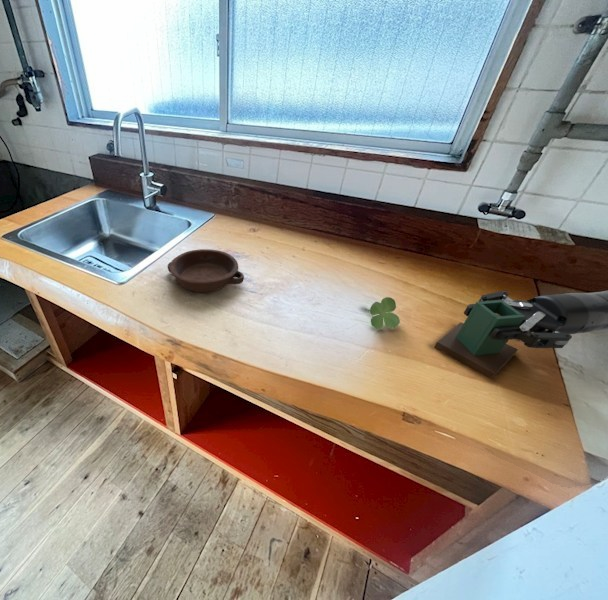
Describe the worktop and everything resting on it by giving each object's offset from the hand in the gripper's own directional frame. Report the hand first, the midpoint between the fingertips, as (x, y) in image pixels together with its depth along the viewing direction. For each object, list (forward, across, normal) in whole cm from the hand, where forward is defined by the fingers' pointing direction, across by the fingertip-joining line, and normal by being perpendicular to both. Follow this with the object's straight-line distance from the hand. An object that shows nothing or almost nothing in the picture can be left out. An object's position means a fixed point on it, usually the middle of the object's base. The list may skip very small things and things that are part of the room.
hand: (480, 321), depth 59 cm
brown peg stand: (-2, 0, +8) cm, 8 cm away
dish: (+48, -34, +8) cm, 59 cm away
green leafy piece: (+11, -11, +8) cm, 17 cm away
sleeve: (-2, 0, +6) cm, 7 cm away
